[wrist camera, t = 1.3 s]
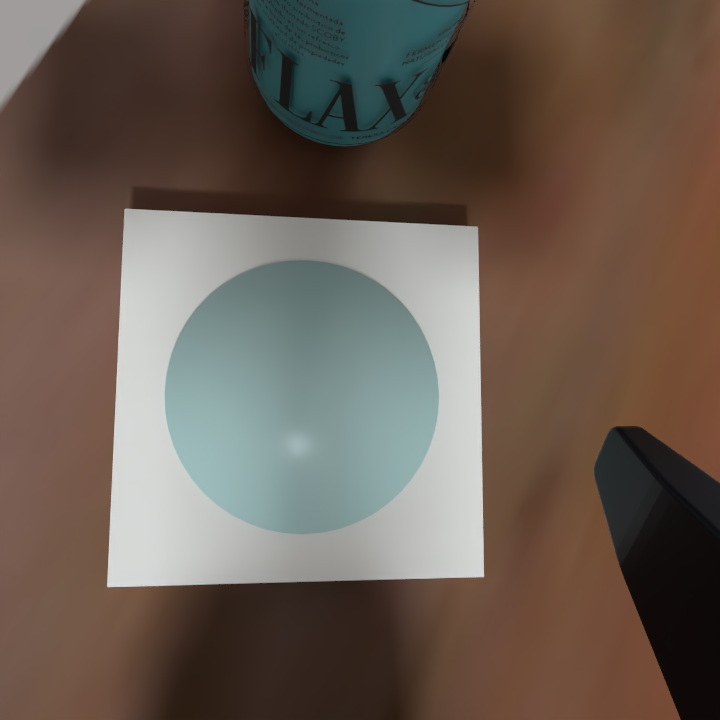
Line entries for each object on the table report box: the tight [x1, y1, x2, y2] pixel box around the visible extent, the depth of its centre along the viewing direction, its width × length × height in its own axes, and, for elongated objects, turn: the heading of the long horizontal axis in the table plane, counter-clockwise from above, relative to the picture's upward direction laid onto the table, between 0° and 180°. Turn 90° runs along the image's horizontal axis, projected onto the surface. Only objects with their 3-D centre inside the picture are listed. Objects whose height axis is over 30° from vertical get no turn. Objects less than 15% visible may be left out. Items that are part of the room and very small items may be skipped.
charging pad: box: [107, 209, 484, 587], centre depth 23 cm, size 12×12×1 cm
